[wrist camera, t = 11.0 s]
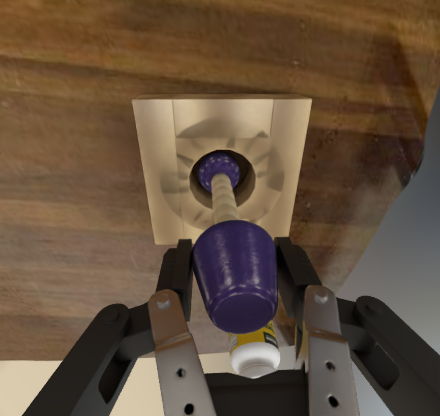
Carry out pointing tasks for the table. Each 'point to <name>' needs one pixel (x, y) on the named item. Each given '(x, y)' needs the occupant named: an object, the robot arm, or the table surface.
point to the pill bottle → (254, 352)
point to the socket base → (220, 140)
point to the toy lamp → (233, 257)
